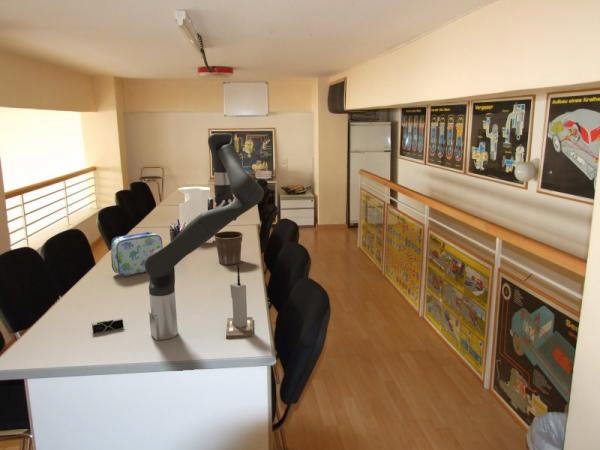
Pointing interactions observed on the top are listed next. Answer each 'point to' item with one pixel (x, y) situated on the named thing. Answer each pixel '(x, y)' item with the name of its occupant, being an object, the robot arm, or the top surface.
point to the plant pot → (229, 247)
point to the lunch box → (133, 252)
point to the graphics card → (107, 325)
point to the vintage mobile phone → (239, 303)
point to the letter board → (239, 329)
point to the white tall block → (193, 204)
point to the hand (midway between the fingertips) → (225, 221)
